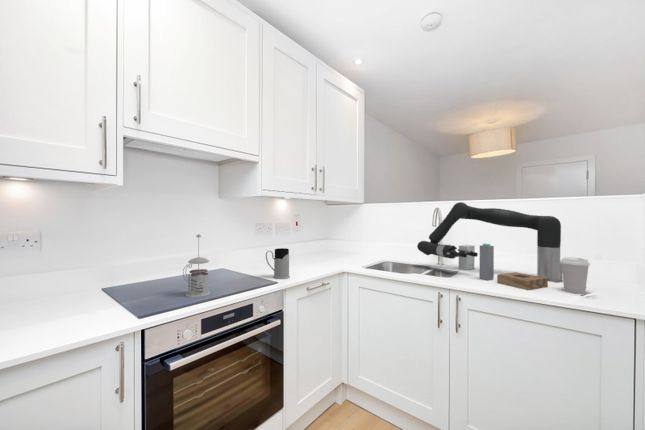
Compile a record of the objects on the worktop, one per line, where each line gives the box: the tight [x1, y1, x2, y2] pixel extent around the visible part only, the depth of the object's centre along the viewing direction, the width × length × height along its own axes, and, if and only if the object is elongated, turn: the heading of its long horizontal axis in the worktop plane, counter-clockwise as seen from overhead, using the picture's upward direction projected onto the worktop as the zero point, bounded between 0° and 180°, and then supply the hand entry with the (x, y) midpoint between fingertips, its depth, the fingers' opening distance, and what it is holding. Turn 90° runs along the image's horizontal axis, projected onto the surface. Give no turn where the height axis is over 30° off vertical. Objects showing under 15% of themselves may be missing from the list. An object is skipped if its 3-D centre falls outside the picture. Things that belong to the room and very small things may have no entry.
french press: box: [182, 234, 212, 298], centre depth 116 cm, size 10×12×25 cm
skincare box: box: [458, 244, 476, 271], centre depth 171 cm, size 8×6×15 cm
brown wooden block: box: [496, 271, 549, 291], centre depth 129 cm, size 14×14×5 cm
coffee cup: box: [560, 256, 591, 297], centre depth 118 cm, size 10×10×15 cm
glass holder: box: [265, 247, 291, 280], centre depth 148 cm, size 9×14×15 cm, turn 68°
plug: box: [479, 242, 495, 281], centre depth 140 cm, size 4×4×19 cm
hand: (471, 255), depth 147 cm, fingers open, 8 cm apart
